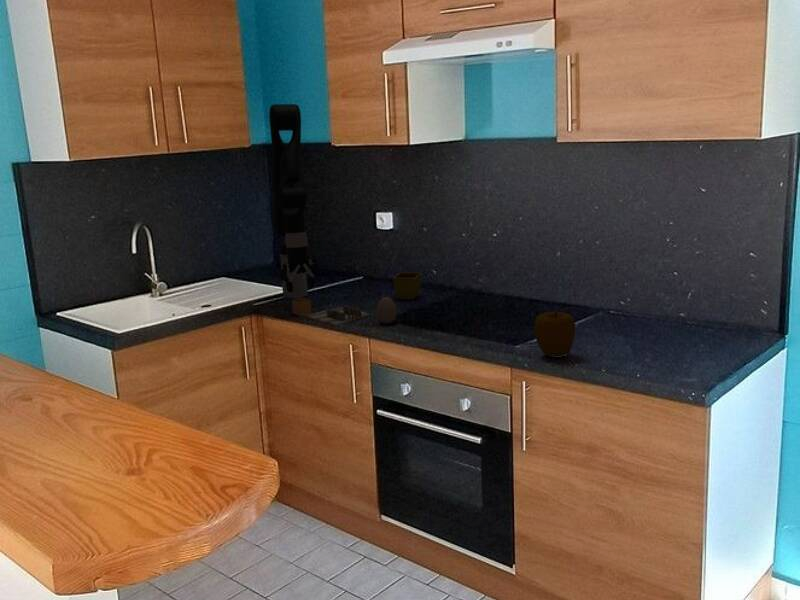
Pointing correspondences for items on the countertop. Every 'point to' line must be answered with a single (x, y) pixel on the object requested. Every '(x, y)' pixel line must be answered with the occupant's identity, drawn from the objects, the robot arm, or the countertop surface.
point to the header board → (339, 315)
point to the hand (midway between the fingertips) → (300, 290)
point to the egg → (386, 310)
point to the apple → (555, 333)
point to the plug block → (301, 306)
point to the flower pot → (407, 285)
